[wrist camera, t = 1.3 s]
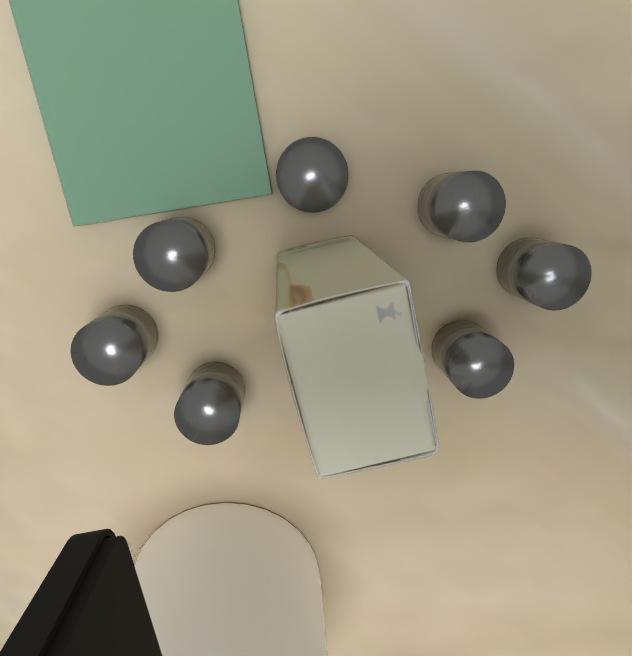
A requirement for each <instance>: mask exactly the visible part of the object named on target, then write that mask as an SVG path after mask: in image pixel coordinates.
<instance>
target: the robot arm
mask: <svg viewBox="0 0 632 656" xmlns="http://www.w3.org/2000/svg"><path fill="white" fill-rule="evenodd" d="M0 656H162V653H161V650H160V646H159V643H158V640H157V637H156V634H155V630H154V627H153V624H152V621H151V617H150V614H149V611H148V608H147V605H146V601H145V598H144V595H143V592H142V589H141V585H140V582H139V579H138V576H137V573H136V569H135V566H134V563H133V560H132V557H131V553H130V550H129V547H128V544H127V541H126V539H125V538H124V537H123V536H117V537H116V536H115V534H114V532H113V531H112V530H110V529H103V530H98V531H92V532H87V533H81V534H75V535H73V536H71V537H70V539H69V540H68V541H67V543H66V544H65V546H64V548H63V549H62V551H61V553H60V554H59V556H58V557H57V559H56V561H55V562H54V564H53V566H52V567H51V569H50V571H49V572H48V574H47V576H46V577H45V579H44V581H43V582H42V584H41V585H40V587H39V589H38V590H37V592H36V594H35V595H34V597H33V599H32V600H31V602H30V604H29V605H28V607H27V609H26V610H25V612H24V613H23V615H22V617H21V618H20V620H19V622H18V623H17V625H16V627H15V628H14V630H13V632H12V633H11V635H10V636H9V638H8V640H7V641H6V643H5V645H4V646H3V648H2V650H1V651H0Z"/></svg>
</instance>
